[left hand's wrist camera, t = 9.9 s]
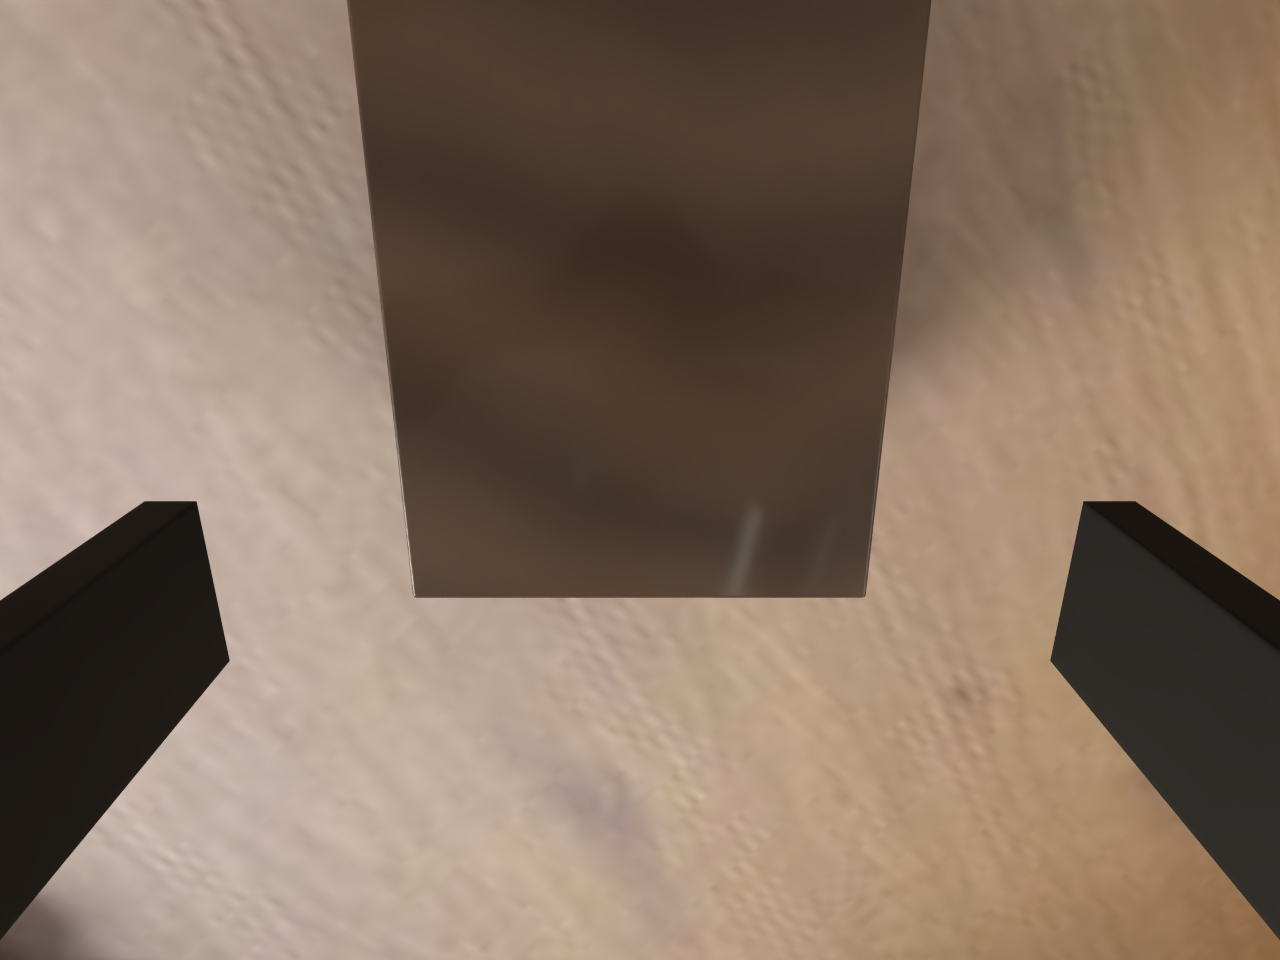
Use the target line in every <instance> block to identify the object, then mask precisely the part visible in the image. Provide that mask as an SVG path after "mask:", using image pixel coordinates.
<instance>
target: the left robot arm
mask: <svg viewBox="0 0 1280 960" xmlns="http://www.w3.org/2000/svg"><path fill="white" fill-rule="evenodd" d="M229 661H230V660H229V655H228V651H227V646H226V641H225V636H224V631H223V626H222V622H221V617H220V612H219V607H218V602H217V598H216V593H215V588H214V583H213V578H212V574H211V569H210V564H209V559H208V554H207V550H206V545H205V540H204V535H203V530H202V525H201V521H200V516H199V511H198V506H197V501H145V502H143V503H142V504H140V505H139V506H137V507H136V508H134V509H133V510H131V511H130V512H129V513H127V514H126V515H124V516H123V517H121V518H120V519H118V520H117V521H115V522H114V523H113V524H111V525H110V526H108V527H107V528H105V529H104V530H102V531H101V532H99V533H98V534H97V535H95V536H94V537H92V538H91V539H89V540H88V541H86V542H85V543H83V544H82V545H81V546H79V547H78V548H76V549H75V550H73V551H72V552H70V553H69V554H67V555H66V556H64V557H63V558H62V559H60V560H59V561H57V562H56V563H54V564H53V565H51V566H50V567H48V568H47V569H46V570H44V571H43V572H41V573H40V574H38V575H37V576H35V577H34V578H32V579H31V580H30V581H28V582H27V583H25V584H24V585H22V586H21V587H19V588H18V589H16V590H15V591H14V592H12V593H11V594H9V595H8V596H6V597H5V598H3V599H2V600H0V940H1V938H2V937H3V936H4V935H5V933H6V932H7V931H8V930H9V929H10V927H11V926H12V925H13V924H14V923H15V921H16V920H17V919H18V918H19V916H20V915H21V914H22V913H23V912H24V910H25V909H26V908H27V907H28V905H29V904H30V903H31V902H32V901H33V899H34V898H35V897H36V896H37V895H38V893H39V892H40V891H41V890H42V888H43V887H44V886H45V885H46V884H47V882H48V881H49V880H50V879H51V877H52V876H53V875H54V874H55V873H56V871H57V870H58V869H59V868H60V867H61V865H62V864H63V863H64V862H65V860H66V859H67V858H68V857H69V856H70V854H71V853H72V852H73V851H74V849H75V848H76V847H77V846H78V845H79V843H80V842H81V841H82V840H83V839H84V837H85V836H86V835H87V834H88V832H89V831H90V830H91V829H92V828H93V826H94V825H95V824H96V823H97V822H98V820H99V819H100V818H101V817H102V815H103V814H104V813H105V812H106V811H107V809H108V808H109V807H110V806H111V804H112V803H113V802H114V801H115V800H116V798H117V797H118V796H119V795H120V794H121V792H122V791H123V790H124V789H125V787H126V786H127V785H128V784H129V783H130V781H131V780H132V779H133V778H134V776H135V775H136V774H137V773H138V772H139V770H140V769H141V768H142V767H143V766H144V764H145V763H146V762H147V761H148V759H149V758H150V757H151V756H152V755H153V753H154V752H155V751H156V750H157V748H158V747H159V746H160V745H161V744H162V742H163V741H164V740H165V739H166V738H167V736H168V735H169V734H170V733H171V731H172V730H173V729H174V728H175V727H176V725H177V724H178V723H179V722H180V720H181V719H182V718H183V717H184V716H185V714H186V713H187V712H188V711H189V710H190V708H191V707H192V706H193V705H194V703H195V702H196V701H197V700H198V699H199V697H200V696H201V695H202V694H203V693H204V691H205V690H206V689H207V688H208V686H209V685H210V684H211V683H212V682H213V680H214V679H215V678H216V677H217V675H218V674H219V673H220V672H221V671H222V669H223V668H224V667H225V666H226V665H227V663H228V662H229ZM1050 661H1051V662H1052V663H1053V665H1054V666H1055V667H1056V668H1057V669H1058V671H1059V672H1060V673H1061V674H1062V675H1063V677H1064V678H1065V679H1066V680H1067V682H1068V683H1069V684H1070V685H1071V686H1072V688H1073V689H1074V690H1075V691H1076V693H1077V694H1078V695H1079V696H1080V697H1081V699H1082V700H1083V701H1084V702H1085V703H1086V705H1087V706H1088V707H1089V708H1090V710H1091V711H1092V712H1093V713H1094V714H1095V716H1096V717H1097V718H1098V719H1099V720H1100V722H1101V723H1102V724H1103V725H1104V727H1105V728H1106V729H1107V730H1108V731H1109V733H1110V734H1111V735H1112V736H1113V738H1114V739H1115V740H1116V741H1117V742H1118V744H1119V745H1120V746H1121V747H1122V748H1123V750H1124V751H1125V752H1126V753H1127V755H1128V756H1129V757H1130V758H1131V759H1132V761H1133V762H1134V763H1135V764H1136V766H1137V767H1138V768H1139V769H1140V770H1141V772H1142V773H1143V774H1144V775H1145V776H1146V778H1147V779H1148V780H1149V781H1150V783H1151V784H1152V785H1153V786H1154V787H1155V789H1156V790H1157V791H1158V792H1159V794H1160V795H1161V796H1162V797H1163V798H1164V800H1165V801H1166V802H1167V803H1168V804H1169V806H1170V807H1171V808H1172V809H1173V811H1174V812H1175V813H1176V814H1177V815H1178V817H1179V818H1180V819H1181V820H1182V822H1183V823H1184V824H1185V825H1186V826H1187V828H1188V829H1189V830H1190V831H1191V832H1192V834H1193V835H1194V836H1195V837H1196V839H1197V840H1198V841H1199V842H1200V843H1201V845H1202V846H1203V847H1204V848H1205V849H1206V851H1207V852H1208V853H1209V854H1210V856H1211V857H1212V858H1213V859H1214V860H1215V862H1216V863H1217V864H1218V865H1219V867H1220V868H1221V869H1222V870H1223V871H1224V873H1225V874H1226V875H1227V876H1228V877H1229V879H1230V880H1231V881H1232V882H1233V884H1234V885H1235V886H1236V887H1237V888H1238V890H1239V891H1240V892H1241V893H1242V895H1243V896H1244V897H1245V898H1246V899H1247V901H1248V902H1249V903H1250V904H1251V905H1252V907H1253V908H1254V909H1255V910H1256V912H1257V913H1258V914H1259V915H1260V916H1261V918H1262V919H1263V920H1264V921H1265V923H1266V924H1267V925H1268V926H1269V927H1270V929H1271V930H1272V931H1273V932H1274V933H1275V935H1276V936H1277V937H1278V938H1279V940H1280V600H1278V599H1277V598H1275V597H1274V596H1272V595H1271V594H1269V593H1268V592H1266V591H1265V590H1264V589H1262V588H1261V587H1259V586H1258V585H1256V584H1255V583H1253V582H1252V581H1250V580H1249V579H1248V578H1246V577H1245V576H1243V575H1242V574H1240V573H1239V572H1237V571H1236V570H1234V569H1233V568H1232V567H1230V566H1229V565H1227V564H1226V563H1224V562H1223V561H1221V560H1220V559H1218V558H1217V557H1216V556H1214V555H1213V554H1211V553H1210V552H1208V551H1207V550H1205V549H1204V548H1202V547H1201V546H1199V545H1198V544H1197V543H1195V542H1194V541H1192V540H1191V539H1189V538H1188V537H1186V536H1185V535H1183V534H1182V533H1181V532H1179V531H1178V530H1176V529H1175V528H1173V527H1172V526H1170V525H1169V524H1167V523H1166V522H1165V521H1163V520H1162V519H1160V518H1159V517H1157V516H1156V515H1154V514H1153V513H1151V512H1150V511H1149V510H1147V509H1146V508H1144V507H1143V506H1141V505H1140V504H1138V503H1137V502H1135V501H1083V506H1082V511H1081V516H1080V521H1079V525H1078V530H1077V535H1076V540H1075V545H1074V550H1073V554H1072V559H1071V564H1070V569H1069V574H1068V578H1067V583H1066V588H1065V593H1064V598H1063V602H1062V607H1061V612H1060V617H1059V622H1058V626H1057V631H1056V636H1055V641H1054V646H1053V651H1052V655H1051V660H1050Z"/></svg>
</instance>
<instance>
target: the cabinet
mask: <svg viewBox="0 0 1280 960" xmlns="http://www.w3.org/2000/svg"><path fill="white" fill-rule="evenodd" d="M347 4H348V13H349V22H350V31H351V40H352V49H353V58H354V67H355V76H356V85H357V94H358V103H359V113H360V122H361V131H362V140H363V149H364V158H365V167H366V176H367V185H368V194H369V203H370V212H371V221H372V230H373V239H374V248H375V257H376V266H377V275H378V284H379V293H380V302H381V311H382V320H383V329H384V338H385V347H386V356H387V365H388V374H389V383H390V392H391V401H392V410H393V419H394V428H395V437H396V446H397V455H398V464H399V473H400V482H401V491H402V500H403V509H404V518H405V527H406V536H407V545H408V554H409V563H410V572H411V581H412V590H413V595H414V597H416V598H862V597H865V595H866V587H867V578H868V569H869V560H870V551H871V542H872V533H873V524H874V515H875V506H876V497H877V488H878V479H879V470H880V460H881V451H882V442H883V433H884V424H885V415H886V406H887V397H888V388H889V379H890V370H891V361H892V352H893V343H894V334H895V325H896V316H897V307H898V297H899V288H900V279H901V270H902V261H903V252H904V243H905V234H906V225H907V216H908V207H909V198H910V189H911V180H912V171H913V162H914V153H915V144H916V134H917V125H918V116H919V107H920V98H921V89H922V80H923V71H924V62H925V53H926V44H927V35H928V26H929V17H930V8H931V0H347Z"/></svg>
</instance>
